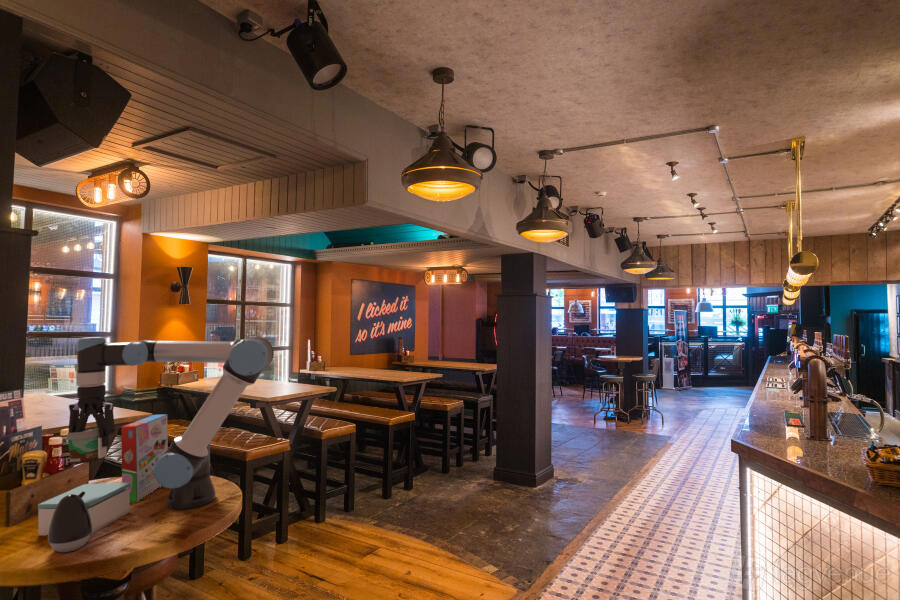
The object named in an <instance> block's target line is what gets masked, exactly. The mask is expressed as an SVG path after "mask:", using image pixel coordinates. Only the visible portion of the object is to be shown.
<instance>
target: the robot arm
mask: <svg viewBox="0 0 900 600" xmlns="http://www.w3.org/2000/svg"><path fill="white" fill-rule="evenodd" d="M76 346H77V348H76V364H77V365H76V366H77V370H76V371H77V373H76V374H77V375H76V384H77V386H78V387H77V388H76V398H77V399H78V400H77V402H75V403H72V404H69V405H68V410H69V420H68V421H69V422H68V432H67V434H68V433H76V432H81V431H83V430H86V426H87V424H88V420H89V417H90V416H92V417H93V418H94V420H95V423H96V426H97V428H98V430H99V433H100V436H99V438H98V458H101V459H102V458H105V457H107V456H108V455H107V454H108V453H107V447H109V436H111V435H113V434H115V432H116V430H115V427H116V426H115V418H114V417H115V416H114V407H115V403H114V402H112V403H110V402H107V401H106V399H105V396H106V395H107V394H106V392H107V391H106V390H107V389H106V384H105V383H106V369H107V368H106V367H110V366H112V367H114V366H115V367H116V366H118V367H119V366H131V367H133V366H141V365H144V364H145V363H207V364H208V363H210V364H211V363H212V364H213V363H215V364H217V363H218V364H219V363H220V364H221V363H222V365H223V366H222V370H223V374H222V375H221V376H220V378H219V379H218V381H217V382H216V385H215V386H214V387H213V389H212V390H211V391H210V393H209V395H208V396H207V398H206V399H205V401H204V402H203V404H202V406H201V407H200V408H199V410H198V412H197V413H196V415H195V416H194V417H193V419H192V420H191V422H190V423H189V425H188V427H187V428H186V430H185V431H184V432H183V434H182V435H179V436H175V438H173V440H172V441H171V443H170V445H169V446H168V449H167V451H166V452H165V454H164V455H162V456H161V457H160V458H159V459H158V460H157V462H156V463H155V465H154V470H153V472H154V476H155V479H156V481H157V482H158V483H159V484H160V485H162V487H164V488H167V489H170V491H169V494H168V497H167V507H168V506H169V507H168V508H170V507H171V508H170V509H173V508H174V509H173V510H189V509H193V508H199V507H203V506H205V505H209V504H210V503H212V502H214V500H216V489H215V485H214V484H213V482H212V478H211V449H210V448H211V441H213V438H214V437H215V435H216V434H217V432H218V431H219V429H220V428H221V426H222V425H223V423H224V422H225V420H226V418H227V417H228V416H229V414H230V413H231V411H232V409H233V408H234V406H235V405H236V404H237V402H238V400H239V399H240V398H241V396H242V394H243V393H244V392H245V390H246V388H247V387H248V386H252V385H254V384H255V383H256V381H257V380H258V378H259V377H260V375H261V373H262V372H263V371H264V370H265V368H267V367H268V366H269V365H270V364H271V362H272V361H273V359H274V355H275V354H274V353H275V352H274V347H273V345H272V343H271V342H270V341H268V340H267V339H266V338H263V337H259V336H258V337H254V336H253V337H250V338H249V337H248V338H236V339H235V340H233V341H212V340H211V341H209V340H208V341H205V340H204V341H202V340H201V341H200V340H199V341H198V340H150V339H139V340H134V341H127V342H124V341H123V342H107V340H106V338H105V337H104V336H90V337H89V336H87V337H80V338H78V340H77V345H76Z"/></svg>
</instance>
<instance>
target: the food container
mask: <svg viewBox="0 0 900 600" xmlns="http://www.w3.org/2000/svg"><path fill="white" fill-rule="evenodd" d="M99 436H100V433H99V430H98V427H96V428H91V429H85V430H83V431H81V432H76V433H68V432H67V435H66V438H65V440H67V443H68V450H69V451H68V453H69V462H70V463H69V464H70V465H80V464H81V465H82V464H86V463H91V462H92V463H93V462H95V461H99V460H101V459H102V458H98V438H99Z"/></svg>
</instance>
